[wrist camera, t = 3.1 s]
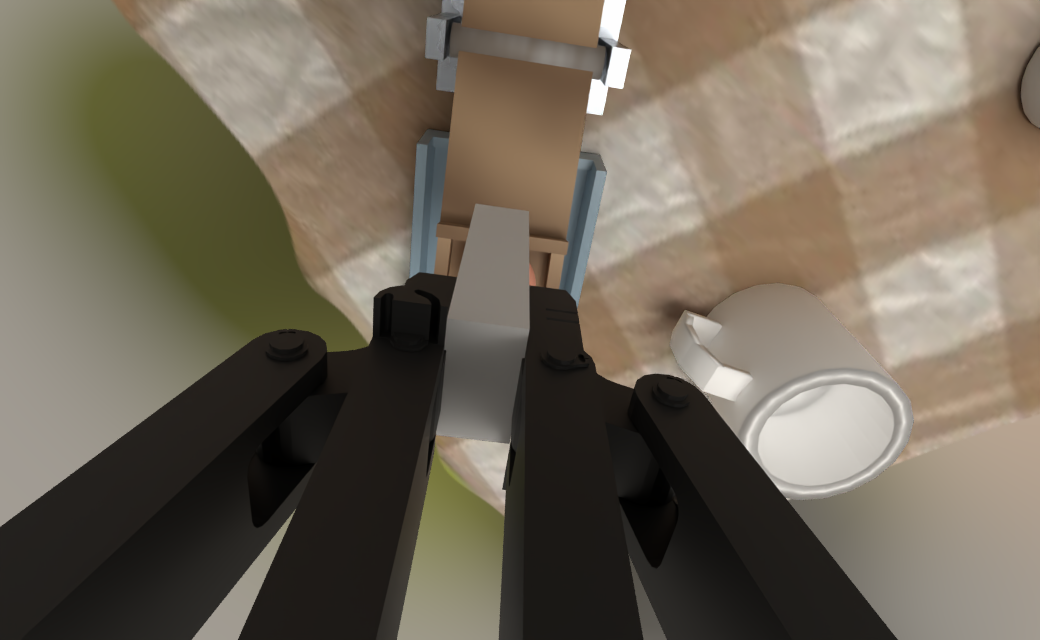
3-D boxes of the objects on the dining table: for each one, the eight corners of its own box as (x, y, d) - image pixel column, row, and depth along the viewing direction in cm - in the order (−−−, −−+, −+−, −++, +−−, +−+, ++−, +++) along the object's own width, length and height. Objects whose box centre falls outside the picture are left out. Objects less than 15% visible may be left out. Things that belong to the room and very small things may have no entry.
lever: (490, -193, 29) (483, -363, 20) (624, -168, 30) (677, -324, 20) (437, 280, 35) (413, 317, 26) (551, 295, 35) (567, 338, 26)
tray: (427, 128, 37) (416, 143, 33) (600, 154, 37) (606, 171, 34) (415, 320, 44) (405, 349, 40) (561, 340, 44) (563, 370, 41)
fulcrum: (454, -36, 32) (426, -45, 24) (617, -9, 33) (648, -8, 24) (445, 79, 35) (417, 109, 27) (595, 102, 36) (616, 139, 27)
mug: (630, 363, 45) (655, 459, 36) (694, 248, 40) (742, 325, 31) (782, 413, 47) (844, 516, 38) (861, 309, 43) (952, 398, 33)
